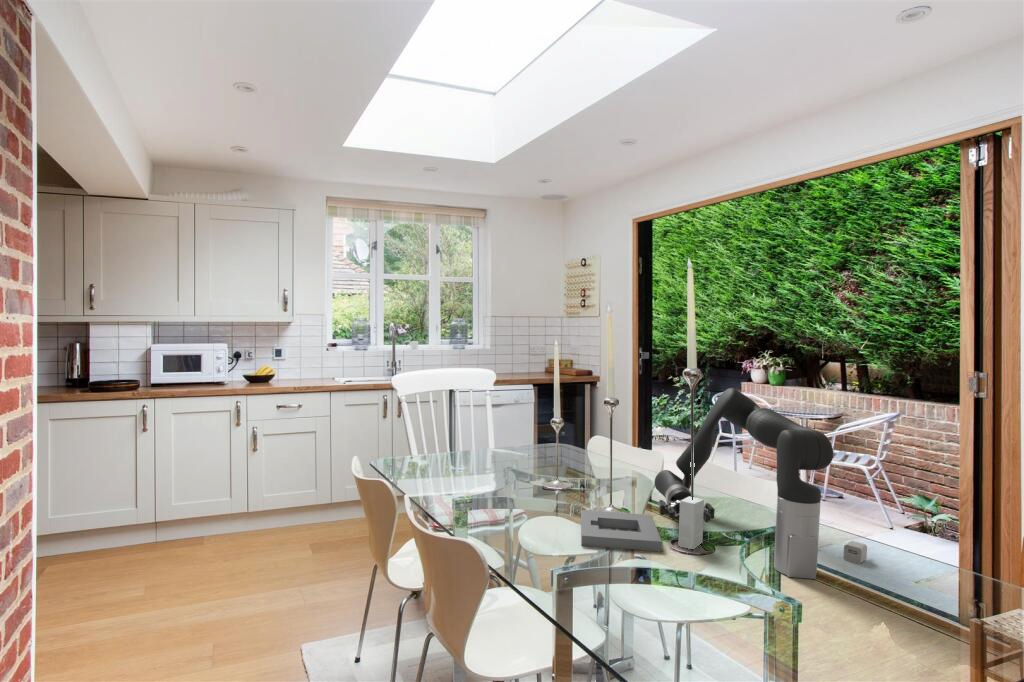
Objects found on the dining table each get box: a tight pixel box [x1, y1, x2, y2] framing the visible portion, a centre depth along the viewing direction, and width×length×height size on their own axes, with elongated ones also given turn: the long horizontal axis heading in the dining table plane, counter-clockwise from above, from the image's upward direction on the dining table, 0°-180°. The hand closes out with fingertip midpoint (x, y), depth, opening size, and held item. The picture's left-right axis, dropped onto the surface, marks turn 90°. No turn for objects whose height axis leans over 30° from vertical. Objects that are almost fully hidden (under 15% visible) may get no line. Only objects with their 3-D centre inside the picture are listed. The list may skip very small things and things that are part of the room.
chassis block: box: [580, 509, 663, 553], centre depth 166 cm, size 22×20×2 cm
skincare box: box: [677, 496, 705, 550], centre depth 159 cm, size 6×4×12 cm
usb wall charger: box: [843, 540, 868, 565], centre depth 155 cm, size 4×7×4 cm, turn 134°
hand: (690, 517), depth 160 cm, fingers open, 8 cm apart
